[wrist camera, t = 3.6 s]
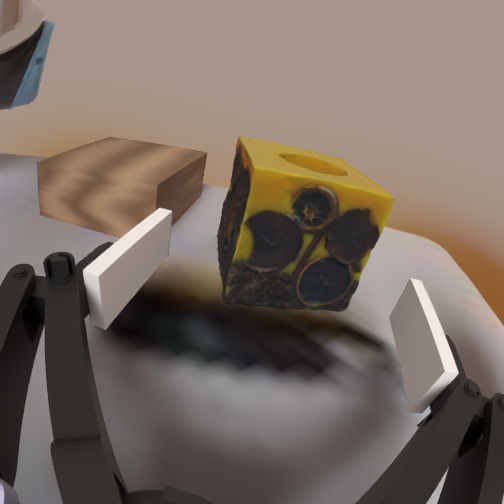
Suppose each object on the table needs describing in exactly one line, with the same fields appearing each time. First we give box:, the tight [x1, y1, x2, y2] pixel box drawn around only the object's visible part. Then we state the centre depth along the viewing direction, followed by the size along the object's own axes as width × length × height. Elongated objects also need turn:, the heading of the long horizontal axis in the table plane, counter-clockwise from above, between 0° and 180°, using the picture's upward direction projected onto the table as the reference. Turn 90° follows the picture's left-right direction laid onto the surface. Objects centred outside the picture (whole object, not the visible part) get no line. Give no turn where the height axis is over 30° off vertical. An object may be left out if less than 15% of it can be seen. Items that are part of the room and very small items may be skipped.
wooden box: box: [37, 137, 207, 238], centre depth 31 cm, size 14×14×6 cm
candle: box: [217, 136, 394, 311], centre depth 24 cm, size 10×10×10 cm
